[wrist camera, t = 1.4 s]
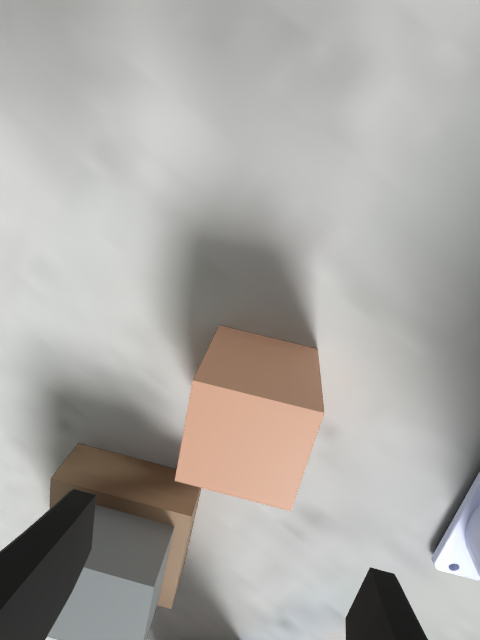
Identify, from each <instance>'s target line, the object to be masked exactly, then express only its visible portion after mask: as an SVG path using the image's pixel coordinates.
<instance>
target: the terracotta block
mask: <svg viewBox="0 0 480 640" xmlns="http://www.w3.org/2000/svg"><path fill="white" fill-rule="evenodd" d="M323 415H324V405H323V395H322V386H321V376H320V366H319V357H318V349H316V348H312V347H307V346H303V345H299V344H295V343H291V342H287V341H282V340H278V339H274V338H270V337H266V336H262V335H258V334H253V333H249V332H245V331H241V330H237V329H233V328H229V327H224V326H220V325H219V327H218V329H217V331H216V333H215V335H214V337H213V339H212V342H211V344H210V346H209V348H208V350H207V352H206V354H205V356H204V358H203V360H202V362H201V364H200V366H199V369H198V371H197V373H196V375H195V377H194V379H193V382H192V388H191V393H190V399H189V404H188V410H187V415H186V421H185V426H184V432H183V437H182V443H181V449H180V454H179V460H178V465H177V471H176V476H175V481H177V482H181V483H185V484H189V485H192V486H196V487H200V488H204V489H208V490H212V491H215V492H219V493H223V494H227V495H231V496H234V497H238V498H242V499H246V500H250V501H254V502H257V503H261V504H265V505H269V506H273V507H276V508H280V509H284V510H288V511H291V509H292V507H293V504H294V501H295V498H296V495H297V492H298V489H299V486H300V483H301V480H302V477H303V474H304V471H305V468H306V465H307V462H308V460H309V457H310V454H311V451H312V448H313V445H314V442H315V439H316V436H317V433H318V430H319V427H320V424H321V421H322V418H323Z"/></svg>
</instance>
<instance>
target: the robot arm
mask: <svg viewBox="0 0 480 640" xmlns="http://www.w3.org/2000/svg"><path fill="white" fill-rule="evenodd" d="M95 501H96V495H94V494H91V493H87V492H83V491H79V490H75V489H73V490H71V491H69V492H68V493H67V494H66V495H65V496H64V497H63V498H62V499H61V500H59V501H58V502H57V503H56V504H55V505H54V506H53V507H52V508H51V509H50V510H48V511H47V512H46V513H45V514H44V515H43V516H42V517H41V518H39V519H38V520H37V521H36V522H35V523H34V524H33V525H31V526H30V527H29V528H28V529H27V530H26V531H24V532H23V533H22V534H21V535H20V536H18V537H17V538H16V539H15V540H14V541H12V542H11V543H10V544H9V545H8V546H6V547H5V548H4V549H3V550H1V551H0V640H45V639H46V637H47V636H48V634H49V632H50V630H51V629H52V627H53V625H54V623H55V622H56V620H57V618H58V616H59V615H60V613H61V611H62V609H63V607H64V606H65V604H66V602H67V600H68V599H69V597H70V595H71V593H72V591H73V589H74V587H75V585H76V583H77V581H78V578H79V576H80V574H81V572H82V570H83V567H84V565H85V563H86V561H87V558H88V556H89V554H90V552H91V549H92V538H93V525H94V513H95ZM432 561H433V564H434V567H435V568H436V569H438V570H441V571H445V572H448V573H452V574H456V575H460V576H463V577H467V578H471V579H475V580H479V581H480V472H479V474H478V475H477V477H476V479H475V481H474V483H473V484H472V486H471V488H470V490H469V491H468V493H467V495H466V497H465V499H464V500H463V502H462V504H461V506H460V508H459V509H458V511H457V513H456V515H455V516H454V518H453V520H452V522H451V524H450V525H449V527H448V529H447V531H446V532H445V534H444V536H443V538H442V540H441V541H440V543H439V545H438V547H437V549H436V550H435V552H434V554H433V556H432ZM346 640H428V639H427V637H426V635H425V633H424V631H423V629H422V627H421V625H420V623H419V621H418V620H417V618H416V616H415V614H414V612H413V610H412V608H411V606H410V604H409V602H408V600H407V598H406V596H405V594H404V592H403V590H402V588H401V586H400V584H399V582H398V580H397V578H396V576H395V574H393V573H389V572H385V571H381V570H378V569H374V568H370V569H369V571H368V573H367V575H366V577H365V579H364V581H363V583H362V585H361V587H360V589H359V592H358V594H357V596H356V598H355V600H354V602H353V604H352V606H351V608H350V610H349V612H348V614H347V616H346Z"/></svg>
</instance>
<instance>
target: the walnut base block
mask: <svg viewBox="0 0 480 640" xmlns="http://www.w3.org/2000/svg"><path fill="white" fill-rule="evenodd" d="M176 471H177V469H174V468H170V467H166V466H162V465H159V464H155V463H151V462H147V461H144V460H140V459H136V458H132V457H128V456H125V455H121V454H117V453H113V452H109V451H106V450H102V449H98V448H94V447H91V446H87V445H83V444H79V443H78V444H77V445H76V447H75V448H74V449H73V451H72V452H71V453H70V454H69V456H68V457H67V458H66V460H65V461H64V462H63V463H62V465H61V466H60V467H59V469H58V470H57V471H56V472H55V474H54V475H53V476H52V478H51V487H50V509H51V508H52V507H53V506H54V505H55V504H56V503H57V502H58V501H59V500H61V499H62V498H63V497H64V496H65V495H66V494H67V493H68V492H69V491H71V490H73V489H75V490H79V491H83V492H87V493H91V494H94V495H96V501H95V505H99V506H102V507H106V508H109V509H113V510H117V511H120V512H124V513H128V514H131V515H135V516H138V517H142V518H146V519H149V520H153V521H156V522H160V523H164V524H167V525H171V526H174V531H173V536H172V541H171V545H170V550H169V555H168V559H167V564H166V569H165V574H164V578H163V583H162V588H161V593H160V597H159V601H158V604H157V606H161V607H164V608H168V609H172V606H173V602H174V599H175V595H176V592H177V588H178V585H179V581H180V577H181V574H182V570H183V567H184V563H185V559H186V554H187V550H188V545H189V541H190V536H191V532H192V527H193V523H194V518H195V514H196V509H197V505H198V500H199V496H200V491H201V488H200V487H196V486H192V485H189V484H185V483H181V482H177V481H175V476H176Z"/></svg>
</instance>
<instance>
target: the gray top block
mask: <svg viewBox="0 0 480 640" xmlns="http://www.w3.org/2000/svg"><path fill="white" fill-rule="evenodd" d="M173 531H174V526H171V525H167V524H164V523H160V522H156V521H153V520H149V519H146V518H142V517H138V516H135V515H131V514H128V513H124V512H120V511H117V510H113V509H109V508H106V507H102V506H99V505H95V513H94V525H93V538H92V549H91V552H90V554H89V556H88V558H87V561H86V563H85V565H84V567H83V570H82V572H81V574H80V576H79V578H78V581H77V583H76V585H75V587H74V589H73V591H72V593H71V595H70V597H69V599H68V600H67V602H66V604H65V606H64V607H63V609H62V611H61V613H60V615H59V616H58V618H57V620H56V622H55V623H54V625H53V627H52V629H51V630H50V632H49V634H48V636H47V637H50V638H54V639H57V640H146V639H147V636H148V633H149V630H150V626H151V623H152V620H153V617H154V614H155V611H156V607H157V604H158V601H159V597H160V593H161V588H162V583H163V578H164V574H165V569H166V564H167V559H168V555H169V550H170V545H171V541H172V536H173Z"/></svg>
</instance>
